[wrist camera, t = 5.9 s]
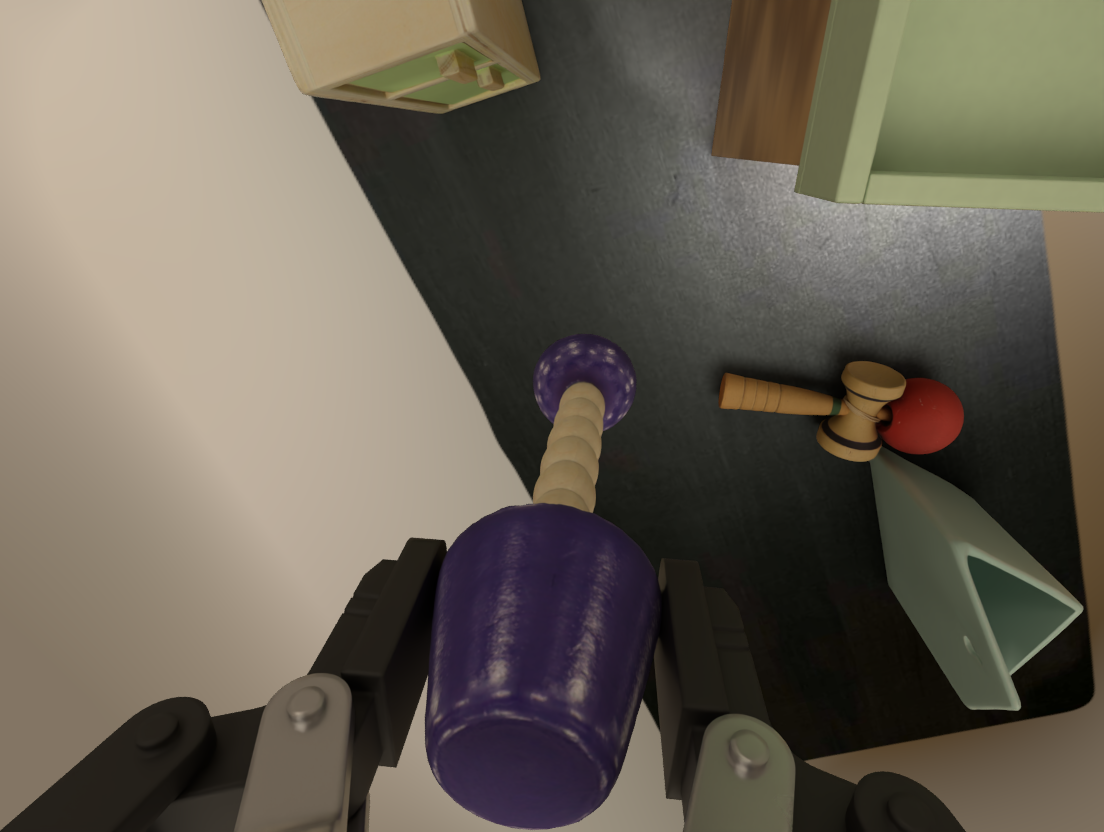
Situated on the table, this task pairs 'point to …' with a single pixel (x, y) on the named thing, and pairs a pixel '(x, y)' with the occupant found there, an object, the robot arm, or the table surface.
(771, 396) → the kendama
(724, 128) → the stand
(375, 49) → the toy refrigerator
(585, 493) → the toy lamp
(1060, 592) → the planter
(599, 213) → the table surface
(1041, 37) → the box
